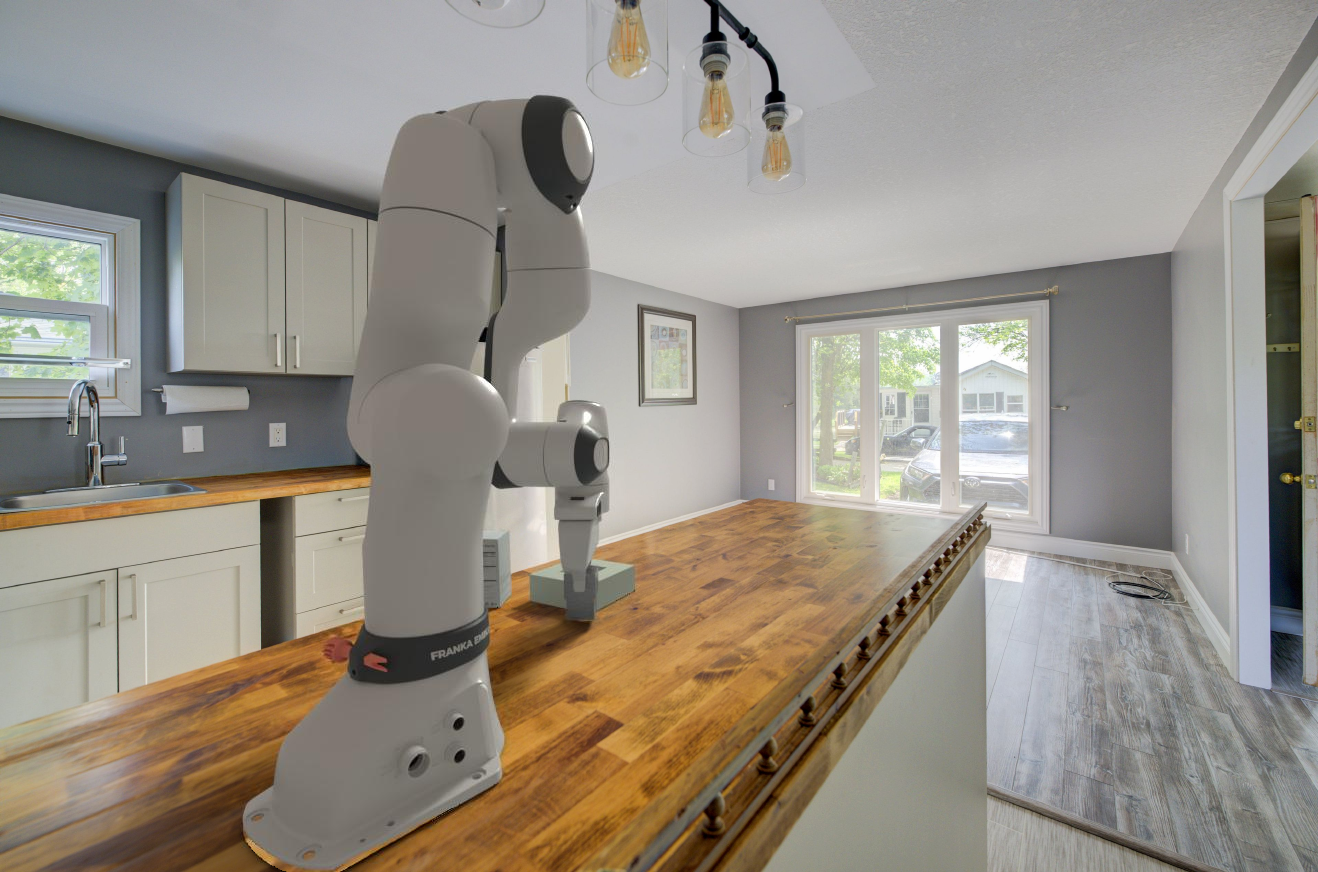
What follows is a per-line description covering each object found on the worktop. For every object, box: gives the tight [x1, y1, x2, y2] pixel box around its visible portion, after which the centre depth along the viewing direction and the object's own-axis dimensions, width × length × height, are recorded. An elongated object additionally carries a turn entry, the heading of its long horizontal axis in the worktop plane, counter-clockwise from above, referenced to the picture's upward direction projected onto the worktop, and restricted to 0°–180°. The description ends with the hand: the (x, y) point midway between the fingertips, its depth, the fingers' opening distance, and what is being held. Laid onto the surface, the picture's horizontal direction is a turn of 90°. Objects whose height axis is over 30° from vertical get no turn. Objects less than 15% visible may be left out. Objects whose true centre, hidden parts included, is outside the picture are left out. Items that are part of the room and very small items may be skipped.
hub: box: [528, 558, 636, 611], centre depth 104 cm, size 14×14×5 cm
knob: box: [564, 566, 598, 621], centre depth 91 cm, size 5×5×8 cm
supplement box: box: [483, 529, 512, 609], centre depth 102 cm, size 7×7×13 cm
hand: (582, 584), depth 91 cm, fingers closed on knob, 5 cm apart
